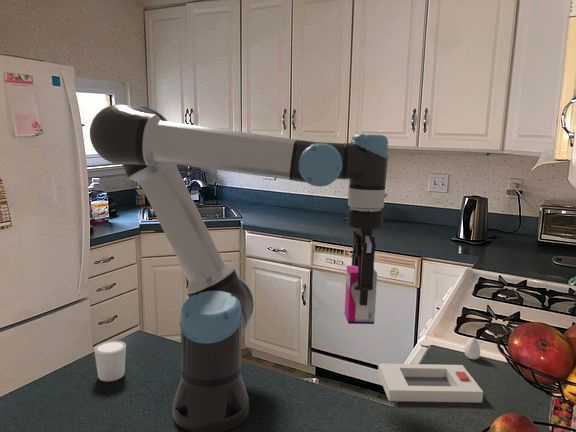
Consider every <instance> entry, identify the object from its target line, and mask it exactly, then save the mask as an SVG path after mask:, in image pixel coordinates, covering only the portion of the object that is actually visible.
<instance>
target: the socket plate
mask: <svg viewBox="0 0 576 432" xmlns="http://www.w3.org/2000/svg"><path fill="white" fill-rule="evenodd" d="M377 368H378V369H377V374H378V377H379V379H380V383H381V385H382V387H383V389H384V392H385V395H386V397H387V399H388V402H417V403H418V402H419V403H421V402H423V403H425V402H427V403H431V402H433V403H477V404H478V403H483V398H484V391H483V389H482V387H480V385H479V384H478V383H477V381H475V379H474V378H473V376H472V375H471V374H470V373H469V372H468V370H467V369H466V367H465V366H464V365H463V364H433V363H432V364H429V363H427V364H426V363H425V364H422V363H378V366H377ZM399 398H400V399H399Z"/></svg>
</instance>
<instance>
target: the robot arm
mask: <svg viewBox="0 0 576 432" xmlns="http://www.w3.org/2000/svg"><path fill="white" fill-rule="evenodd" d="M89 139H90V143H91V145H92V147H93V149H94V151H95V152H96V153H97V154H98V155H99V156H100V157H101V158H102V159H103V160H105V161H107V162H109V163H112V164H116V165H121V166H122V168H123V170H124V171H125V174H126V175H127V177H128V179H129V180H130V181H134V182H136V183H137V184H139V185H140V187H141V188H142V191H143V193H144V195H145V197H146V199H147V200H148V203H149V204H150V207H151V209H152V211H153V213H154V214H155V216H156V218H157V220H158V223H159V224H160V227H161V228H162V230H163V232H164V235H165V236H166V238H167V240H168V242H169V245H170V246H171V248H172V251H173V253H174V254H175V257H176V258H177V261H178V263H179V264H180V266H181V268H182V270H183V272H184V274H185V276H186V278H187V281H188V285H187V288H186V291H185V292H186V294H187V296H188V299H186V300H185V302H184V303H182V307H181V308H180V309H181V311H180V316H179V327H180V356H181V357H180V358H181V360H180V361H181V362H180V365H181V370H180V371H181V375H180V376H181V377H180V381H179V384H178V387H177V390H176V393H175V396H174V399H173V403H172V417H173V421H174V422H175V424H176V425H177V426H178V427H179V428H181V429H183V430H185V431H187V432H227V431H230V430H232V429H235V428H236V427H238V426H240V425H241V424H242V423H243V422H244V421H246V419H247V418H248V416H249V414H250V398H249V395H248V391H247V389H246V386H245V382H244V380H243V377H242V373H241V371H242V370H241V369H242V366H241V365H242V362H241V361H242V339H243V336H244V333H245V331H246V329H247V327H248V326H247V325H248V324H249V321H250V320H251V318H252V315H253V311H254V296H253V292H252V291H251V289H250V287H249V286H248V284H247V282H245V281H243V280H242V279H241V278H239V275H238V274H237V272H236V269H235V267H234V266H231V265H228V264H225V263H224V260H223V258H222V257H221V255H220V253H219V250H218V249H217V248H218V247H217V246H216V244H215V243H214V240H213V238H212V236H211V233H210V232H209V229H208V228H207V226H206V224H205V221H204V219H203V218H202V216H201V214H200V212H199V210H198V207H197V206H196V204H195V201H194V200H193V197H192V195H191V193H190V191H189V189H188V188H187V185H186V183H185V181H184V179H183V176H182V175H181V173H180V171H179V169H178V165H179V166H187V167H194V168H202V169H206V170H207V169H209V170H215V171H224V172H229V173H238V174H245V175H251V176H259V177H265V178H273V179H280V180H289V181H293V182H300V183H307V184H309V185H311V186H315V187H327V186H329V185H331V184H332V183H334V182H335V181H336V180H348V181H349V186H348V196H347V205H348V207H349V208H347V218H346V221H347V222H346V225H347V226H348V227H349V228H353V229H356V230H353V232H352V235H353V236H352V239H353V241H352V252H351V253H352V254H351V255H352V256H351V266H358V287H355V290H357V291H356V306H355V319H368V312H369V298H370V290H372V289H373V270H375V268H374V267H375V253H376V248H377V245H376V241H375V240H376V239H375V236H373V231H374V230H378V229H381V228H382V227H384V210H383V208H384V207H385V199H387V198H388V193H386V183H387V170H388V161H389V160H388V159H389V156H388V155H389V154H388V153H389V152H388V149H389V140H388V138H387V136H385V135H383V134H365V133H363V134H362V133H361V134H358V133H355V134H353V135H352V137H351V141H350V142H345V143H343V142H341V143H340V142H324V141H310V140H302V139H301V140H300V139H295V138H294V139H293V138H287V137H279V136H275V135H274V136H272V135H267V134H266V135H265V134H258V133H252V132H251V133H250V132H245V131H237V130H230V129H223V128H218V127H217V128H216V127H207V126H201V125H194V124H186V123H179V122H174V121H173V122H171V121H168V120H167V118H166V117H165V116H164V115H163V114H161V113H160V112H158V111H156V110H154V109H152V108H149V107H146V106H132V105H127V104H112V105H109V106H106V107H103V108H102V109H101V110H100V111H98V113H96V115H95V116H94V117H93V119H92V121H91V123H90V127H89Z"/></svg>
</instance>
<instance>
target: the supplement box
mask: <svg viewBox="0 0 576 432" xmlns="http://www.w3.org/2000/svg"><path fill="white" fill-rule="evenodd" d="M345 277H346V280H345V294H344V295H345V297H344V298H345V299H344V316H345V318H346V320H347V324H350V325H351V324H352V325H359V324H360V325H375V321H376V320H375V315H376V301H377V299H376V298H377V284H378V283H377V282H378V272H377V271H376V270H375V269H374V270H373V289H372V290H370V298H369V312H368V319H355V306H356V291H357V290H355V287H358V266H352V265H346V275H345Z"/></svg>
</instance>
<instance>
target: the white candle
mask: <svg viewBox="0 0 576 432" xmlns="http://www.w3.org/2000/svg"><path fill="white" fill-rule="evenodd" d="M93 351H94V359H95V365H96V369H97V370H96V371H97V377H98V379H99V380H100V381H102V382H114V381H117V380H119V379H122V378H123V377H124V376H125V371H126V370H125V367H126V353H127V344H126V342H123V341H121V340H108V341H104V342H101V343H98V344H97V345H95V346H94V348H93Z"/></svg>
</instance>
